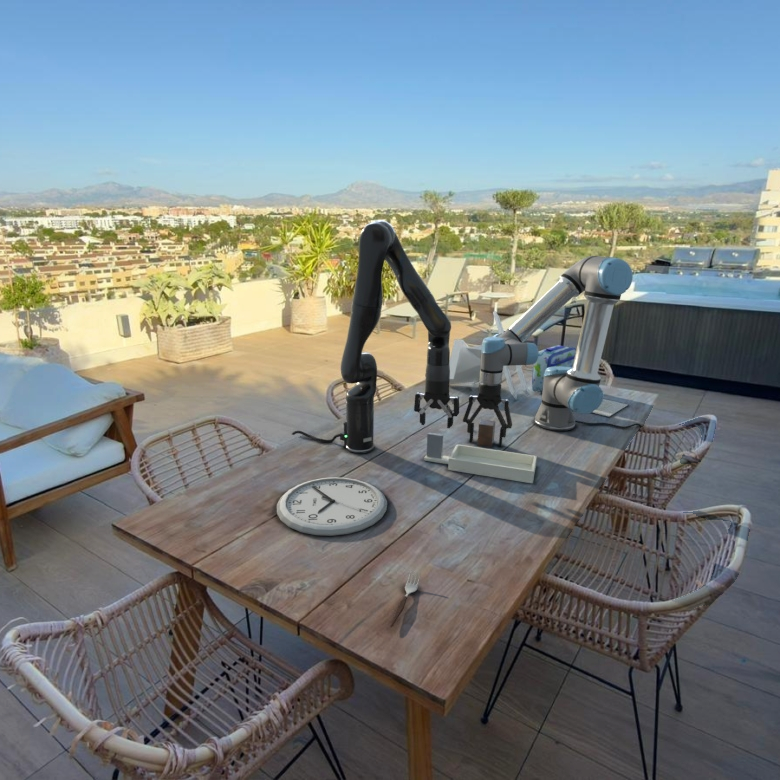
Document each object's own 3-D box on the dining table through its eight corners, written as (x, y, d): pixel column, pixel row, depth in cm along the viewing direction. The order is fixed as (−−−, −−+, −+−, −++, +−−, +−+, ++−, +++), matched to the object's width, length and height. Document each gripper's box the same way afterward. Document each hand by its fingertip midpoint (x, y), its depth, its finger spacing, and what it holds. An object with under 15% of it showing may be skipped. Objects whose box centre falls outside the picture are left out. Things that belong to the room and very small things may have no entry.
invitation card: (608, 416, 214) (573, 407, 224) (608, 416, 214) (573, 408, 224) (628, 404, 229) (594, 396, 238) (628, 405, 229) (594, 397, 238)
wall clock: (392, 527, 129) (268, 531, 127) (391, 533, 130) (269, 537, 127) (383, 473, 158) (282, 475, 155) (383, 478, 158) (282, 480, 156)
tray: (535, 467, 168) (538, 441, 165) (532, 483, 157) (535, 456, 154) (430, 451, 178) (431, 426, 176) (420, 465, 168) (421, 439, 165)
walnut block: (493, 442, 187) (495, 421, 185) (491, 447, 182) (493, 426, 180) (479, 440, 188) (481, 419, 186) (477, 445, 184) (478, 424, 182)
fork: (384, 627, 99) (384, 618, 99) (410, 577, 114) (410, 569, 113) (397, 631, 99) (397, 622, 98) (421, 580, 113) (421, 572, 112)
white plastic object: (461, 429, 252) (437, 405, 227) (444, 352, 274) (420, 323, 250) (535, 404, 240) (518, 377, 215) (510, 326, 262) (492, 293, 237)
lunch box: (548, 398, 236) (553, 353, 229) (527, 393, 243) (531, 349, 237) (575, 387, 253) (581, 344, 247) (555, 382, 260) (560, 341, 254)
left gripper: (462, 376, 164) (460, 424, 169) (419, 372, 169) (418, 419, 174) (457, 382, 158) (455, 432, 162) (412, 378, 162) (411, 427, 167)
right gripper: (524, 383, 179) (518, 443, 185) (460, 376, 185) (456, 435, 192) (522, 389, 172) (516, 451, 179) (456, 382, 179) (452, 442, 185)
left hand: (435, 425), depth 168 cm, fingers open, 8 cm apart
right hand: (485, 443), depth 185 cm, fingers open, 10 cm apart
